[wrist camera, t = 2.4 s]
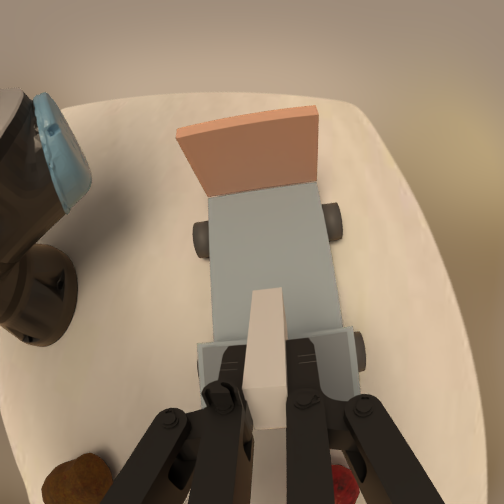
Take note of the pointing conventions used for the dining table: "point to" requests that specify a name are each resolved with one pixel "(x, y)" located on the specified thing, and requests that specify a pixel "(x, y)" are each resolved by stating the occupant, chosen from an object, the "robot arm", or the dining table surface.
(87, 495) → the potato
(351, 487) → the red rounded piece
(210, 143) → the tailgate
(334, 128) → the dining table surface
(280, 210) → the pickup bed
